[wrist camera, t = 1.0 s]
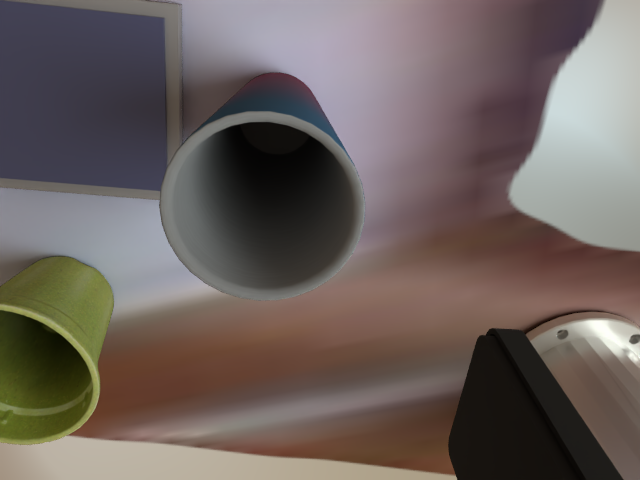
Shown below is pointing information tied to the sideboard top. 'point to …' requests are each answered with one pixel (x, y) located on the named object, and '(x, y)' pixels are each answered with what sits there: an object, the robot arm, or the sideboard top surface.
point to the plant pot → (51, 349)
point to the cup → (263, 194)
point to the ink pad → (90, 95)
